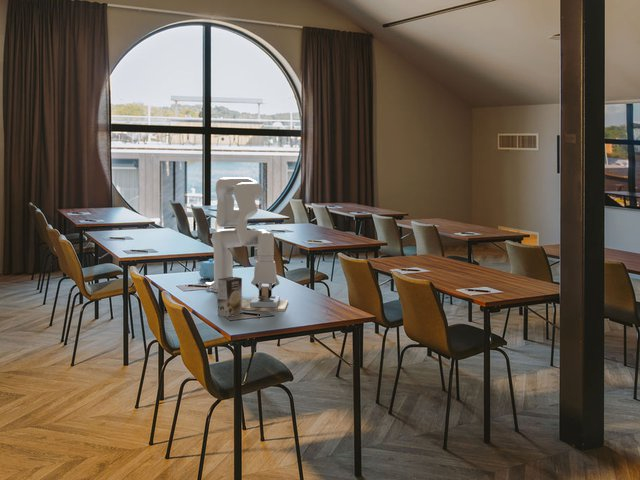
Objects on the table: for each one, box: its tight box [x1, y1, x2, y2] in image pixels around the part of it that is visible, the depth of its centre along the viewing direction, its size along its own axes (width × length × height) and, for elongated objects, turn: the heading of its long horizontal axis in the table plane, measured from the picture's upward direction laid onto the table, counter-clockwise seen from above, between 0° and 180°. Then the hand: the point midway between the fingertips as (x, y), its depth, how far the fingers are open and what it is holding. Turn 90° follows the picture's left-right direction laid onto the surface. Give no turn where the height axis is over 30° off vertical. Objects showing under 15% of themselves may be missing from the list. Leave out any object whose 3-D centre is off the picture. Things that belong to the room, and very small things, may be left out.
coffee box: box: [217, 276, 243, 318], centre depth 308 cm, size 9×6×16 cm
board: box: [242, 296, 289, 312], centre depth 325 cm, size 22×18×6 cm
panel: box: [250, 285, 281, 307], centre depth 325 cm, size 12×16×8 cm
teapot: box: [198, 258, 214, 281], centre depth 394 cm, size 15×14×11 cm
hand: (265, 297), depth 325 cm, fingers closed on panel, 3 cm apart
